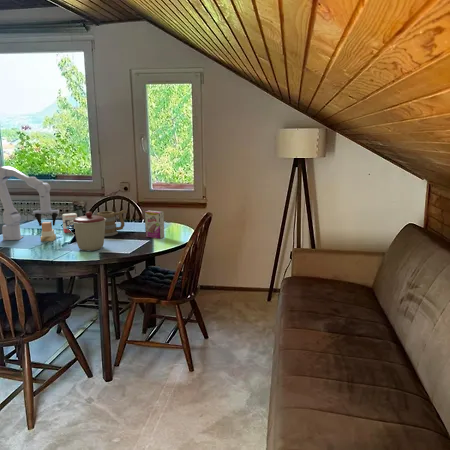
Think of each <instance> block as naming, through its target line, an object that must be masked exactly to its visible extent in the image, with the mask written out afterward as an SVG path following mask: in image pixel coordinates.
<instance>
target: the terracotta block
mask: <svg viewBox="0 0 450 450" xmlns="http://www.w3.org/2000/svg"><path fill="white" fill-rule="evenodd" d="M41 223H42V225H41V232H44V231H51V230H52V229H53V221H43V222H41Z"/></svg>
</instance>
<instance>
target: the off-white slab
mask: <svg viewBox="0 0 450 450" xmlns="http://www.w3.org/2000/svg"><path fill="white" fill-rule="evenodd" d="M40 232H41V236H42V237H48V236H53V235H54V234H55V229H54V228H52V230H51V231H44V232H42V231H40Z"/></svg>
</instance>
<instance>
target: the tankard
mask: <svg viewBox="0 0 450 450" xmlns="http://www.w3.org/2000/svg"><path fill="white" fill-rule="evenodd" d="M127 213H128V211H127V210H125V209H122V210H121V211H118V212H114V211H112V210H111V211H109V210H108V211H107V210H106V211H99V212H96V214H97V216H102V217H104V218H106V221H105V235H104V237H111V236H116V235H118V234H119V233H118V232H119V231H121V230H123V229H124V227H125V221H124V217H123V214H127ZM117 216H118V220H119V221H120V226H117V224H116V221H117V218H116V217H117Z"/></svg>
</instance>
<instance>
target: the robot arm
mask: <svg viewBox="0 0 450 450" xmlns="http://www.w3.org/2000/svg"><path fill="white" fill-rule="evenodd" d="M11 177H15V178H17V179H19V180H21V181H23V182H25V183H26V185H27V186H29V187H30V188H33V189H35V190H36V192H37V193H38V194H39V207H40V210H38V209H37V210H32V215H34V218H35V219H36V221H37V223H38V226H39V227H42V223H43V222H42V215H46V214H47V215H49V214H51V220H52V227H54V226H56V221H57V217H58V214H60V209H52V206H51V205H52V204H51V195H50V191H51V190H52V186H51V185H50V183H48V182H44V181H43V180H41V179H38V178H37V177H36V176H28V175H27V174H25V173H23V172H21V171H19V170H18V169H17V168H16V167H12V166H11V165H6V166H5V165H4V166H0V202H1V205H2V206H3V207H2V208H3V212H2V217H3V219H2V221H3V223H4V224H3V225H2V228H1V234H2V241H20V240H21V239H22V238H24V236H23V235H22V234H21V233H22V232H21V225H20V223H21V220H22V215H21V214H20V213H19V211H18V209H16V208H15V207H14V203H13V200H12V198H11V194H10V192H9V189H8V186H7V184H6V182H7V181H8V180H9V178H11Z"/></svg>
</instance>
